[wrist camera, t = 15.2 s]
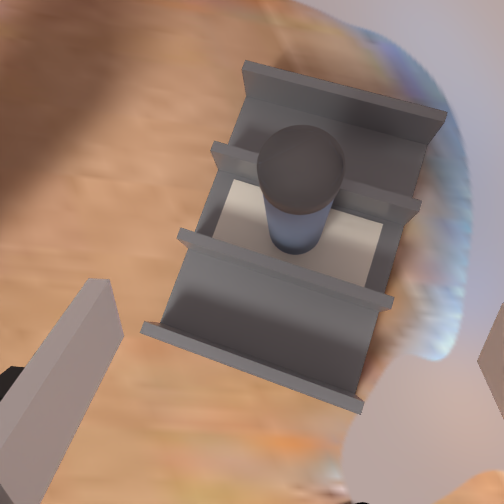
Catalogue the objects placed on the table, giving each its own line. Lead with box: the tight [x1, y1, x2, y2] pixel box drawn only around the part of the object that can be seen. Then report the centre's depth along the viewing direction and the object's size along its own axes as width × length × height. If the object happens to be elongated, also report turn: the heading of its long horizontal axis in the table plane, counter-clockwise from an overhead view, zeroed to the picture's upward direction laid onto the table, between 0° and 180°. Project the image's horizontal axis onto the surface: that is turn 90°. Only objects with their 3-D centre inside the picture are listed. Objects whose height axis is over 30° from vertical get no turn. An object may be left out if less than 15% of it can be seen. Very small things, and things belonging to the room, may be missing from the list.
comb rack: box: [140, 60, 447, 415], centre depth 30 cm, size 15×22×5 cm
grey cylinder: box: [257, 125, 346, 255], centre depth 25 cm, size 4×4×12 cm
